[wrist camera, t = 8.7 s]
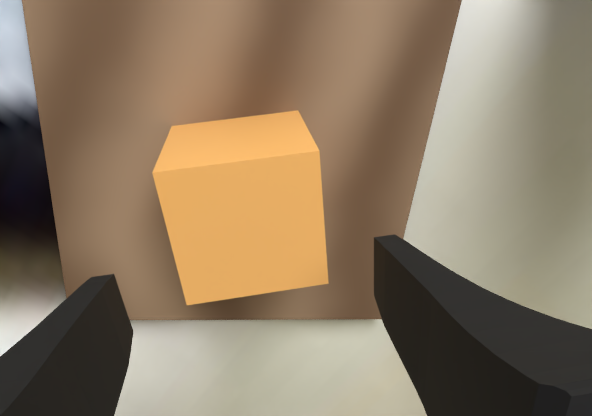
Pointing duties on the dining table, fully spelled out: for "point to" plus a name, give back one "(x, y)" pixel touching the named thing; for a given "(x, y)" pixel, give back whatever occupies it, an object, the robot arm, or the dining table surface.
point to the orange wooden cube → (243, 206)
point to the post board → (227, 105)
